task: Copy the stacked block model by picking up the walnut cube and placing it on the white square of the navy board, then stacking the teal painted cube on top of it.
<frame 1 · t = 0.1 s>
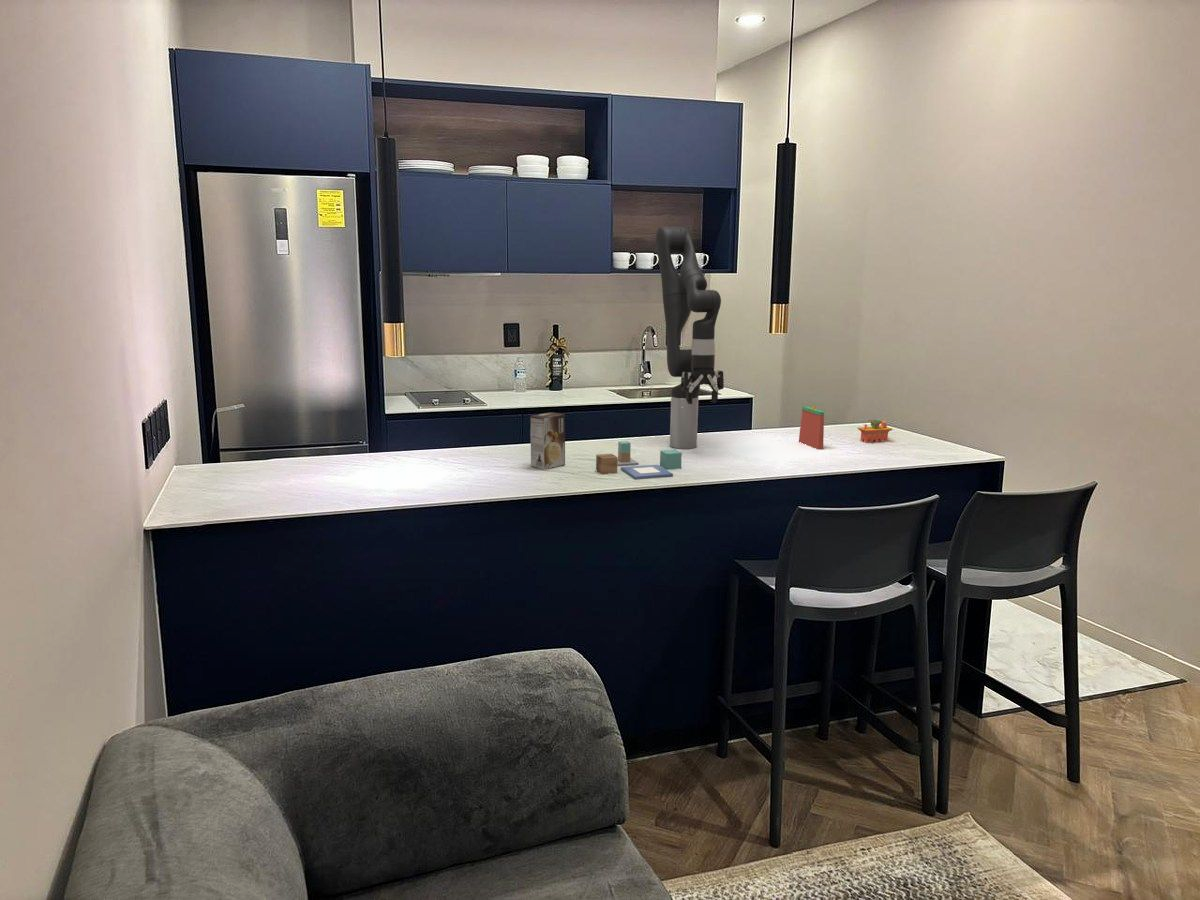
hand: (701, 403, 283), 17 cm above the counter, fingers open, 8 cm apart
walnut cube: (606, 472, 263), on the counter
coffee box: (547, 466, 269), on the counter
stacked block model: (624, 462, 274), on the counter
teal cube: (670, 467, 270), on the counter
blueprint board: (646, 473, 262), on the counter
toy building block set: (851, 443, 308), on the counter
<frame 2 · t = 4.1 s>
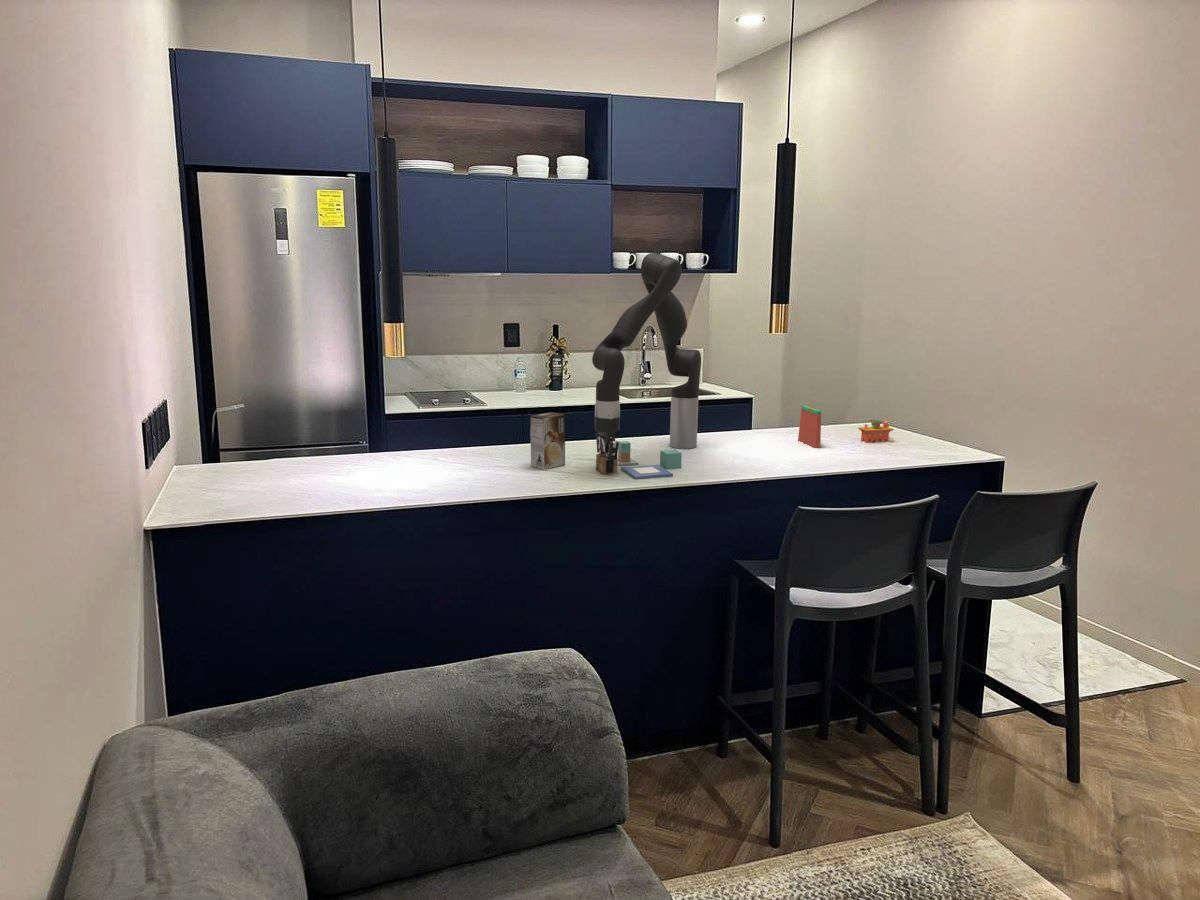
hand: (606, 470, 263), 0 cm above the counter, fingers closed on walnut cube, 5 cm apart
walnut cube: (606, 471, 263), on the counter, touching gripper
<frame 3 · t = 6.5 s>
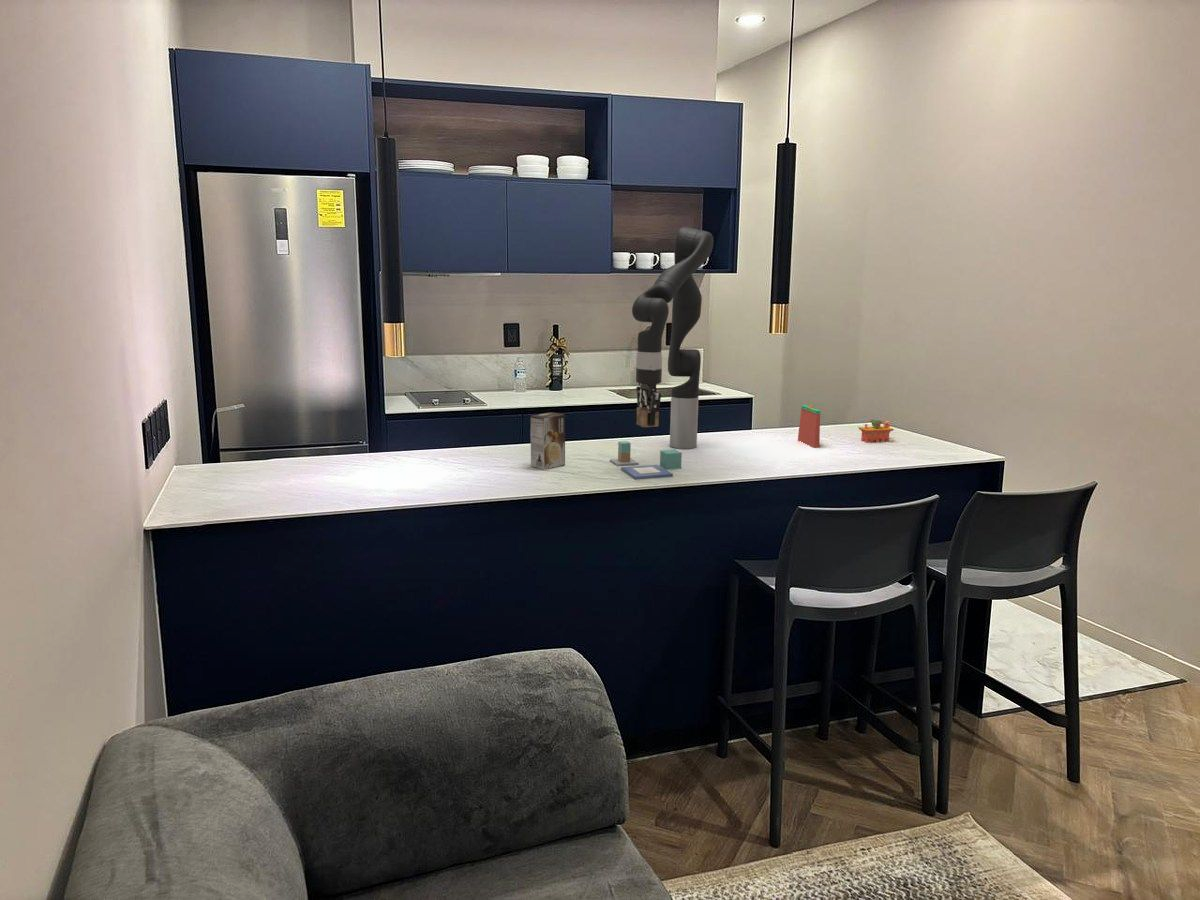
hand: (647, 423, 259), 15 cm above the counter, fingers closed on walnut cube, 5 cm apart
walnut cube: (647, 425, 259), point 15 cm above the counter, touching gripper
when the fingers open (2 cm above the counter, at t = 9.3 s): walnut cube stays where it is, resting on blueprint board.
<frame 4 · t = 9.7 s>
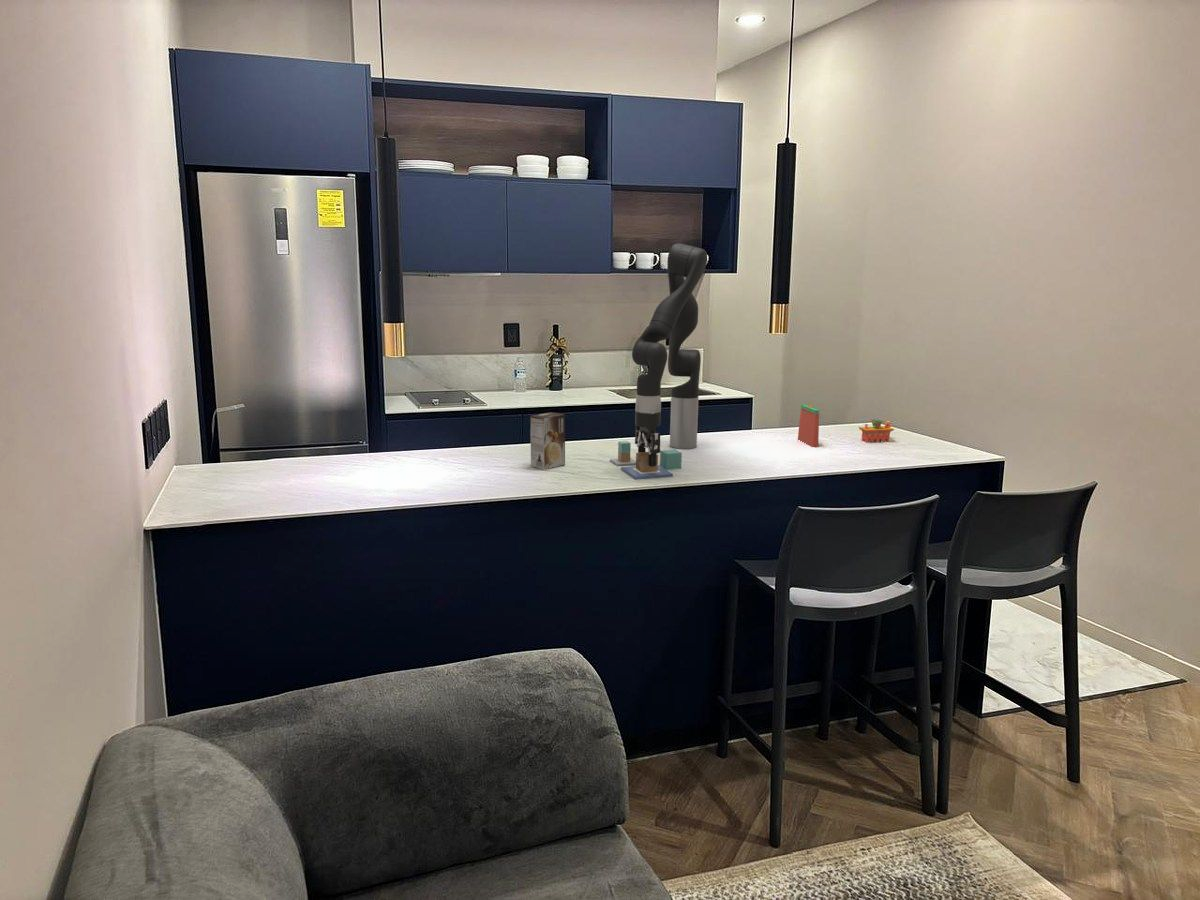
hand: (646, 463, 261), 3 cm above the counter, fingers open, 8 cm apart
walnut cube: (646, 470, 262), point 1 cm above the counter, touching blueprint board
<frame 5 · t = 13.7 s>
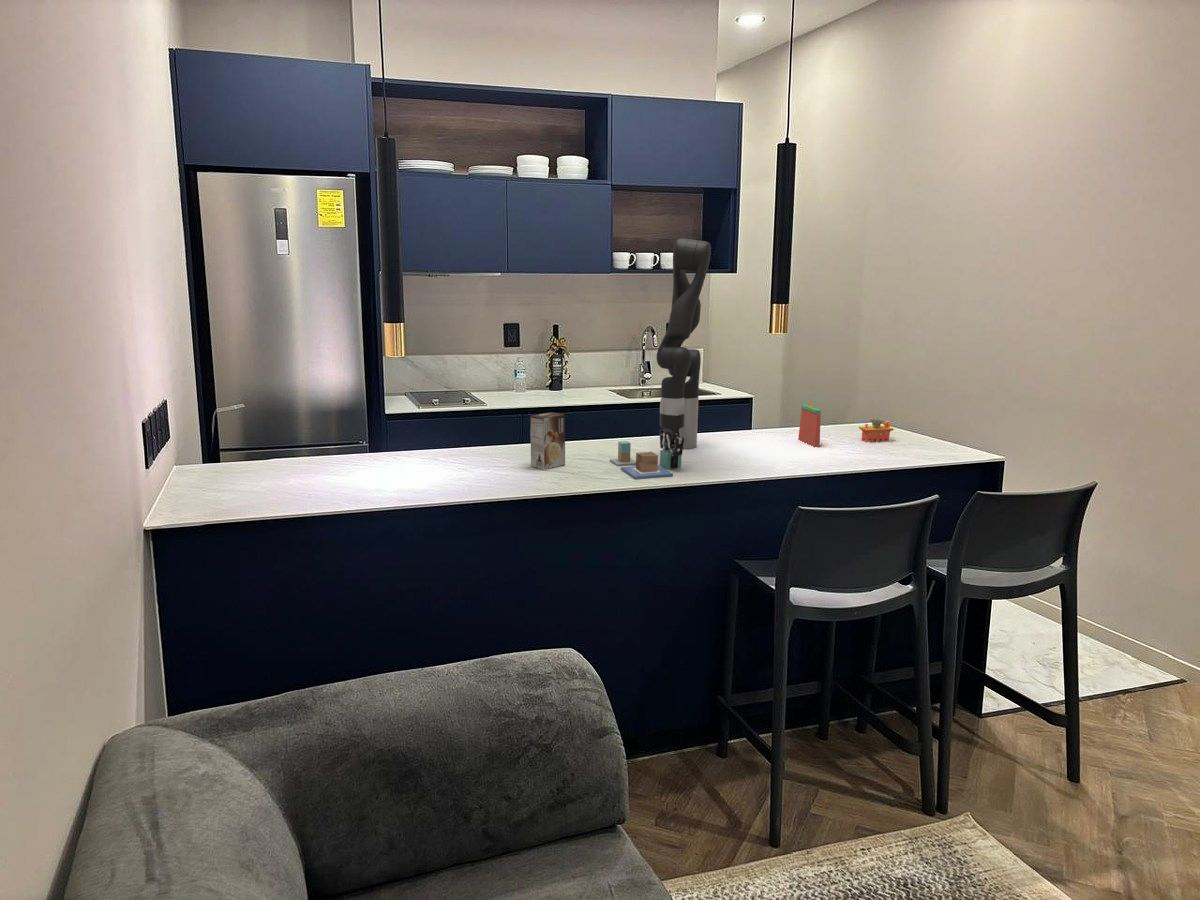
hand: (670, 465, 270), 0 cm above the counter, fingers closed on teal cube, 5 cm apart
teal cube: (670, 467, 270), on the counter, touching gripper
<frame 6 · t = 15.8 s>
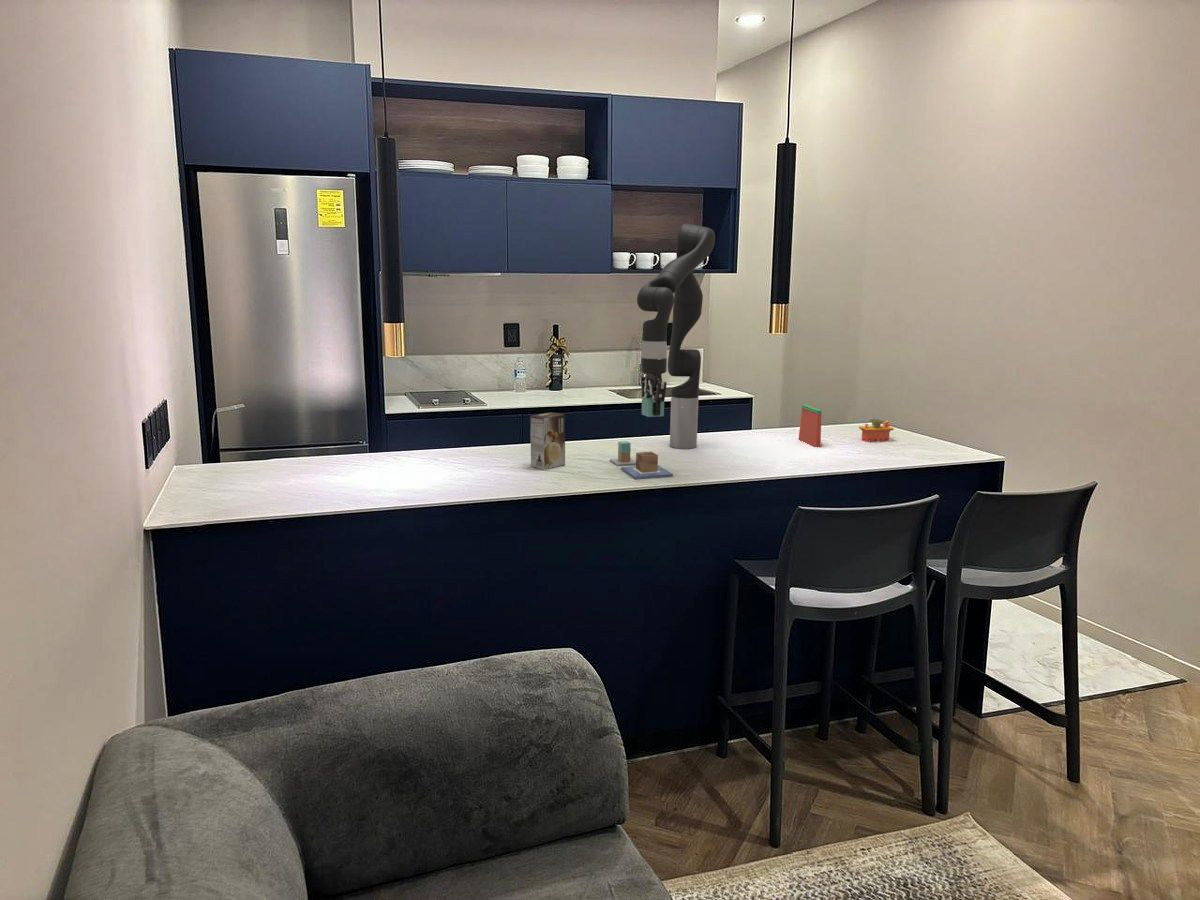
hand: (652, 413, 258), 18 cm above the counter, fingers closed on teal cube, 5 cm apart
teal cube: (652, 415, 258), point 18 cm above the counter, touching gripper
when the fingers open (7 cm above the counter, at t = 18.3 s): teal cube stays where it is, resting on walnut cube.
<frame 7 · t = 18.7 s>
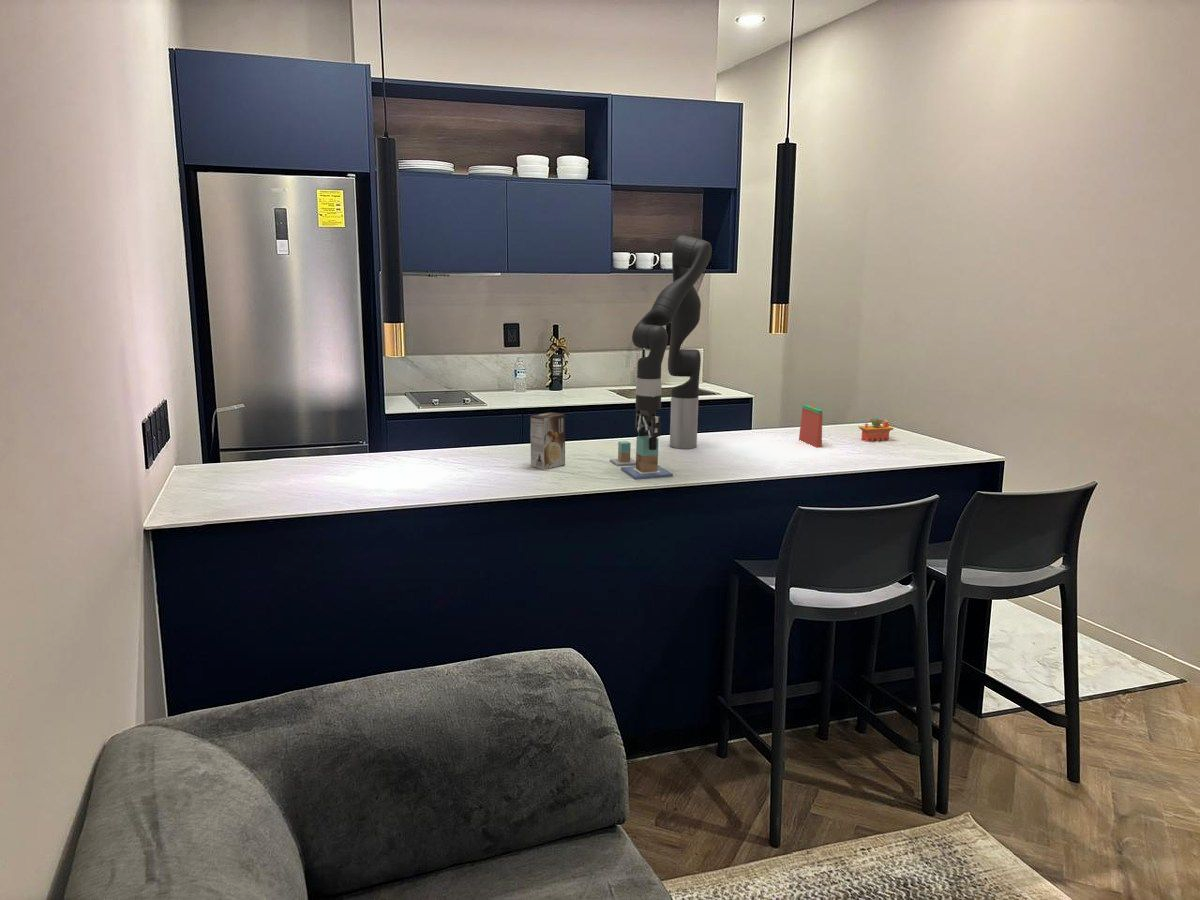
hand: (647, 446, 260), 8 cm above the counter, fingers open, 8 cm apart
walnut cube: (646, 470, 262), point 1 cm above the counter, touching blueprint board, teal cube
teal cube: (647, 453, 261), point 6 cm above the counter, touching walnut cube
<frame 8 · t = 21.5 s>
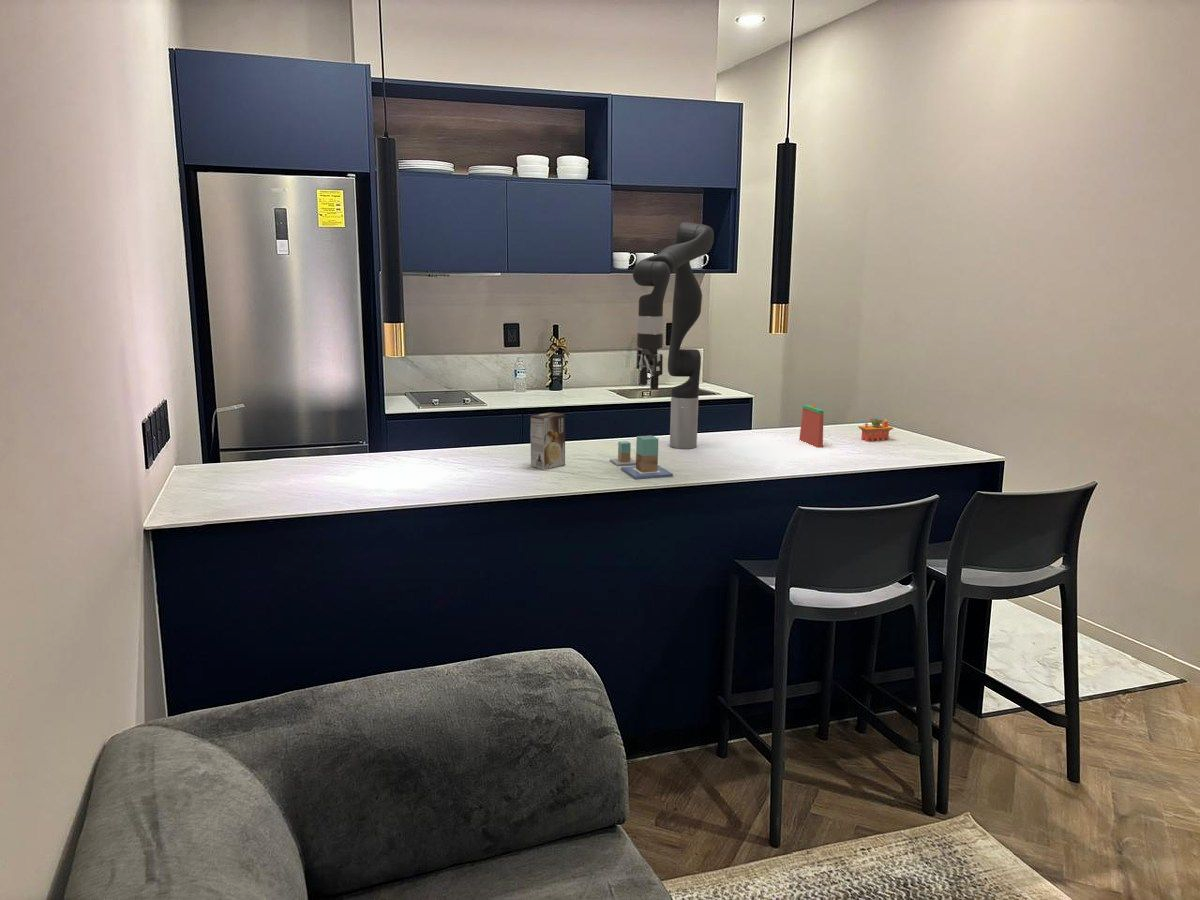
hand: (648, 387, 256), 26 cm above the counter, fingers open, 8 cm apart
at the end: walnut cube 0.1 cm off-centre on the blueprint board, point 0.9 cm above the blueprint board's base; teal cube 0.1 cm off-centre on the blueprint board, point 5.9 cm above the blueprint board's base; teal cube tilted 0° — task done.
